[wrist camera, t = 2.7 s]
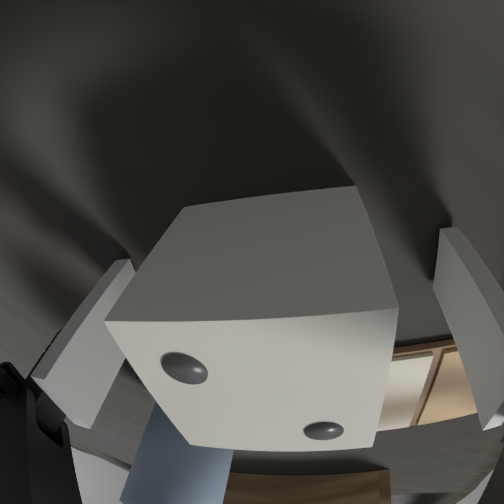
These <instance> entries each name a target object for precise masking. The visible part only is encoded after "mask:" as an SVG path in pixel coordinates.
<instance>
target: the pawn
mask: <svg viewBox="0 0 504 504" xmlns="http://www.w3.org/2000/svg"><path fill="white" fill-rule="evenodd" d="M150 399H151V402H152V404H153V405H154V408H153V411H152V413H151V416H150V419H149V421H148V424H147V426H146V429H145V432H144V434H143V437H142V440H141V442H140V445H139V448H138V450H137V453H136V456H135V458H134V461H133V464H132V467H131V469H130V472H129V475H128V478H127V481H126V483H125V486H124V489H123V491H122V494H121V497H120V501H121V502H122V503H123V504H223V499H224V494H225V490H226V485H227V480H228V476H229V471H230V466H231V461H232V456H233V452H234V449H224V448H213V447H204V446H196V445H190V444H189V443H188V441H187V440H186V439H185V438H184V437H183V435H182V434H181V433H180V432H179V430H178V429H177V428H176V427H175V425H174V424H173V423H172V422H171V420H170V419H169V418H168V416H167V415H166V414H165V412H164V411H163V410H162V408H161V407H160V406H159V404H158V403H157V402H156V400H155V399H154V398H153V396H152V395H151V393H150Z"/></svg>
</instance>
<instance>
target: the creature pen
mask: <svg viewBox="0 0 504 504" xmlns="http://www.w3.org/2000/svg"><path fill="white" fill-rule="evenodd" d="M223 504H391V491H390V470H389V469H386V470H378V471H370V472H359V473H347V474H331V475H263V474H247V473H235V472H229V476H228V480H227V485H226V490H225V494H224V499H223Z"/></svg>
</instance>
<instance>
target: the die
mask: <svg viewBox="0 0 504 504" xmlns="http://www.w3.org/2000/svg"><path fill="white" fill-rule="evenodd" d="M398 312H399V306H398V303H397V299H396V296H395V293H394V290H393V287H392V283H391V280H390V277H389V274H388V271H387V268H386V265H385V262H384V259H383V256H382V253H381V250H380V248H379V245H378V242H377V239H376V236H375V234H374V231H373V228H372V226H371V223H370V220H369V218H368V215H367V212H366V210H365V207H364V205H363V202H362V200H361V197H360V195H359V192H358V190H357V187H356V186H347V187H336V188H326V189H317V190H307V191H298V192H290V193H281V194H273V195H265V196H257V197H249V198H242V199H234V200H227V201H220V202H213V203H206V204H200V205H193V206H187V207H184V208H183V209H182V210H181V212H180V213H179V214H178V216H177V217H176V218H175V220H174V221H173V222H172V224H171V225H170V226H169V228H168V229H167V230H166V232H165V233H164V234H163V236H162V237H161V238H160V240H159V241H158V242H157V244H156V245H155V247H154V248H153V249H152V251H151V252H150V253H149V255H148V256H147V258H146V259H145V260H144V262H143V263H142V265H141V266H140V268H139V269H138V270H137V272H136V273H135V275H134V276H133V278H132V279H131V280H130V282H129V283H128V285H127V286H126V288H125V289H124V291H123V292H122V294H121V295H120V297H119V298H118V300H117V301H116V303H115V304H114V306H113V307H112V309H111V310H110V312H109V313H108V315H107V316H106V318H105V319H104V323H105V325H106V326H107V328H108V330H109V331H110V333H111V335H112V336H113V338H114V339H115V341H116V343H117V344H118V346H119V347H120V349H121V351H122V352H123V354H124V355H125V357H126V358H127V360H128V361H129V363H130V365H131V366H132V368H133V369H134V371H135V372H136V373H137V375H138V376H139V378H140V379H141V381H142V382H143V384H144V385H145V386H146V388H147V389H148V391H149V392H150V393H151V395H152V396H153V398H154V399H155V400H156V402H157V403H158V404H159V406H160V407H161V408H162V410H163V411H164V412H165V414H166V415H167V416H168V418H169V419H170V420H171V422H172V423H173V424H174V425H175V427H176V428H177V429H178V430H179V432H180V433H181V434H182V435H183V437H184V438H185V439H186V440H187V441H188V443H189V444H190V445H196V446H204V447H213V448H224V449H237V450H254V451H326V450H343V449H356V448H366V447H372V446H373V442H374V438H375V435H376V431H377V427H378V423H379V419H380V414H381V410H382V406H383V401H384V396H385V392H386V387H387V382H388V377H389V371H390V366H391V360H392V354H393V348H394V341H395V334H396V327H397V320H398Z"/></svg>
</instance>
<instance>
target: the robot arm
mask: <svg viewBox="0 0 504 504" xmlns="http://www.w3.org/2000/svg"><path fill="white" fill-rule="evenodd" d="M135 273H136V272H135V270H134V268H133V265H132V263H131V260H130V259H122V260H116V261H115V262H114V263H113V264H112V265H111V267H110V268H109V269H108V270H107V272H106V273H105V274H104V275H103V277H102V278H101V279H100V280H99V282H98V283H97V284H96V285H95V287H94V288H93V289H92V290H91V292H90V293H89V294H88V296H87V297H86V298H85V300H84V301H83V302H82V303H81V305H80V306H79V307H78V309H77V310H76V311H75V313H74V314H73V315H72V317H71V318H70V320H69V321H68V322H67V324H66V325H65V326H64V328H62V329H61V330H60V331H59V332H58V333H57V334H56V336H55V337H54V338H53V340H52V341H51V344H50V345H48V347H47V348H46V350H45V352H44V353H43V354H42V356H41V357H40V358H39V360H38V361H37V363H36V364H35V366H34V367H33V369H32V370H31V372H30V373H29V375H28V376H27V378H26V379H24V378H23V377H22V376H21V375H20V373H19V372H18V371H17V370H16V368H15V367H14V366H13V365H12V364H11V362H4V363H1V364H0V504H82V500H81V496H80V491H79V487H78V482H77V478H76V473H75V468H74V463H73V457H72V451H71V445H70V438H69V431H68V427H67V424H66V423H65V422H64V421H63V420H64V419H65V417H66V416H67V417H68V418H69V419H70V420H71V421H72V422H73V423H74V424H75V425H78V426H82V427H85V428H88V429H90V428H91V426H92V424H93V422H94V420H95V418H96V416H97V414H98V412H99V410H100V408H101V406H102V404H103V401H104V399H105V397H106V395H107V393H108V391H109V389H110V387H111V385H112V383H113V381H114V379H115V378H116V376H117V374H118V372H119V370H120V368H121V366H122V364H123V362H124V360H125V358H126V357H125V355H124V354H123V352H122V351H121V349H120V347H119V346H118V344H117V343H116V341H115V339H114V338H113V336H112V335H111V333H110V331H109V330H108V328H107V326H106V325H105V323H104V319H105V318H106V316H107V315H108V313H109V312H110V310H111V309H112V307H113V306H114V304H115V303H116V301H117V300H118V298H119V297H120V295H121V294H122V292H123V291H124V289H125V288H126V286H127V285H128V283H129V282H130V280H131V279H132V278H133V276H134V275H135ZM433 290H434V293H435V295H436V297H437V299H438V302H439V304H440V306H441V309H442V311H443V314H444V316H445V319H446V321H447V323H448V326H449V328H450V331H451V334H452V336H453V339H454V342H455V344H456V347H457V350H458V352H459V355H460V358H461V361H462V364H463V367H464V370H465V373H466V376H467V379H468V382H469V385H470V388H471V391H472V395H473V398H474V401H475V405H476V408H477V412H478V416H479V419H480V423H481V427H482V431H484V430H487V429H490V428H494V427H497V426H500V425H503V424H504V292H503V290H502V289H501V287H500V286H499V284H498V283H497V281H496V280H495V278H494V277H493V275H492V274H491V272H490V271H489V269H488V268H487V266H486V265H485V263H484V262H483V260H482V259H481V258H480V256H479V255H478V253H477V252H476V251H475V249H474V248H473V247H472V245H471V244H470V242H469V241H468V240H467V238H466V237H465V236H464V235H463V233H462V232H461V231H460V229H459V228H458V227H450V228H440V234H439V244H438V253H437V261H436V269H435V276H434V283H433ZM500 442H504V436H503V438H502V439H501V441H500ZM478 504H504V447H503V450H502V452H501V455H500V457H499V460H498V462H497V464H496V467H495V469H494V471H493V473H492V476H491V478H490V480H489V482H488V484H487V486H486V488H485V490H484V492H483V494H482V496H481V498H480V500H479V502H478Z"/></svg>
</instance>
